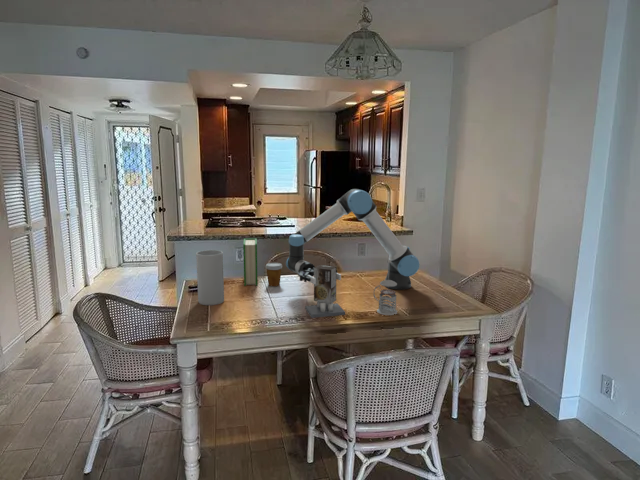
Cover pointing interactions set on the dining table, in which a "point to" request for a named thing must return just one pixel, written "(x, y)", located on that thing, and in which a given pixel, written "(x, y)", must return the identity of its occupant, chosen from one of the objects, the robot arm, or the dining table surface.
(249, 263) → the hardback book
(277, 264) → the disposable coffee cup
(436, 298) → the dining table surface
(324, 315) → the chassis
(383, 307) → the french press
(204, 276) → the cylinder vase
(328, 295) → the coffee box
